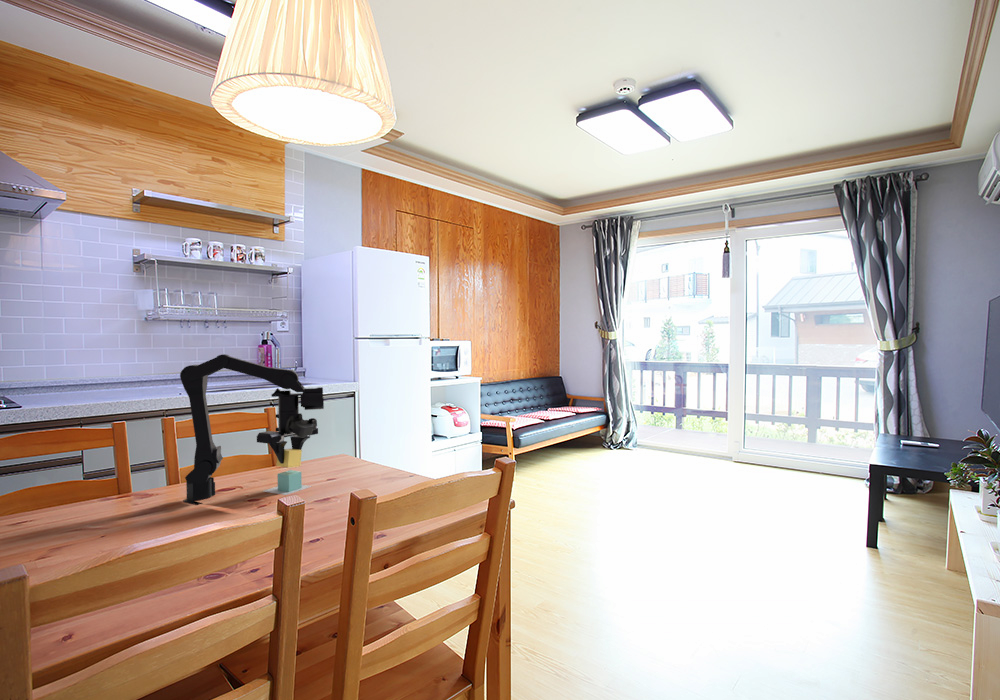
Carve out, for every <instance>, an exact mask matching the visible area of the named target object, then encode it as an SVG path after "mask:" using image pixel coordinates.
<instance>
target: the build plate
mask: <svg viewBox="0 0 1000 700" xmlns="http://www.w3.org/2000/svg"><path fill="white" fill-rule="evenodd" d="M311 487H312V486H311V485H305V484H302V488H300V489H297V490H294V491H291V492H286V491H280V490H278V485H277V486H274V487H271V488H268V489H264V490H263V492H266V493H269V494H270V493H271V494H278V495H283V496H287V495H291V494H293V493H297V492H300V491H302V490H306V489H308V488H311Z"/></svg>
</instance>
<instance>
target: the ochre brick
mask: <svg viewBox="0 0 1000 700" xmlns="http://www.w3.org/2000/svg"><path fill="white" fill-rule="evenodd" d="M302 453H303V451H302V449H301V450H298V449H292V448H284V463H283V464H281V463H280V462H279V460H278V458H277V457H276V467H279V468H289V469H290V468H297V467H301V464H302V463H301V461H302Z"/></svg>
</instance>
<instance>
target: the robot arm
mask: <svg viewBox="0 0 1000 700" xmlns="http://www.w3.org/2000/svg"><path fill="white" fill-rule="evenodd" d="M223 369H226V370H230V371H234V372H238V373H241V374H244V375H248V376H252V377H255V378H260V379H263V380H266V381H268V382H269V383H272V384H273V385H274V386H277V387H278V388H276V389H275V390H274V392H273V393H271V395H270V396H271V397H273V398H274V397H275V398H276V397H277V398H278V399H277V401H278V408H277V409H278V413H276V414H275V419H278V427H275V431H274V430H273V431H272V430H267V431H262V432H259V433H257V435H256V443H261V444H269V446H270V448H271V450H273V452H274V454H275V455H276V459H277V458H278V460H279V462H280V463H281V464H283V463H284V449H285V446H286V445H287V443H288V441H286V440H285V438H288V437H289V438H290V442H291V449H298V450H302V449H303V446H304V445H305V442H306V441H307V440H308V439H310V438H311V436H314V435H319V427H318V421H317V420H318V419H317V418H308V419H303V414H302V413H299V411H300V409H299V405H300V407H302V408H304V410H305V411H311V410H312V411H315V410H324V409H325V408H324V407H325V406H324V405H325V404H324V403H325V402H324V400H325V399H324V388H323V387H321V386H320V387H315V388H314V387H309V388H305V386H304V385H303V384H302V383H301V381H299V375H298V373H297V371H295V370H294V369H290V368H289V369H288V368H279V367H269V366H265V365H262V364H258V363H255V362H252V361H247V360H244V359H241V358H238V357H233V356H230V355H229V354H224V353H223V354H219V355H217V356H216V357H213V358H212V359H210V360H209V359H208V360H207V361H204V362H202V363H200V364H193V365H192V364H190V365H187V366H185V367H184V368H183V369H182V370H181V371H180V374H179V378H180V381H181V383H182V384H181V385H182V386H183V389H184V391H185V393H186V395H187V396H188V398H189V405H190V412H191V413H190V414H191V419H192V425H193V426H192V427H193V431H194V439H195V445H196V446H195V452H194V459H193V460H194V462H193V469H192V470H191V471H190V472H189V473H188V474H187V475H186V476H185V477H184V479H185V481H186V499H184V500H183V501H182V502H183V503H187V504H191V505H195V506H197V505H202V502H200V501H203V500H204V501H205V500H209V499H210V498H212V497H214V496H215V495H216V482H215V480H214V479H215V477H212V476H213V474H214V473H215V472H216V471H217V470H218V469H219V468H220V466H221V463H222V460H223V459H224V457H223V456H222V446H221V445H218V446H216V445H215V443H214V440H213V435H212V428H211V421H210V415H209V408H208V400H207V388H208V383H209V381H208V379H209V378H208V377H209V376H211V375H213V374H214V373H217V372H219V371H221V370H223ZM279 387H280V388H282V389H284V390H281V389H279ZM291 390H292V391H294V392H293V393H292V392H291ZM295 392H296V393H295ZM299 396H300V404H299Z"/></svg>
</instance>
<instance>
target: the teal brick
mask: <svg viewBox="0 0 1000 700" xmlns="http://www.w3.org/2000/svg"><path fill="white" fill-rule="evenodd" d="M302 485H303V482H302V471H299V470H291V469H289V470H286V471H283V472H280V473H277V486H278V490H280V491H286V492H291V491H294V490H297V489H300V488H302Z"/></svg>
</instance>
